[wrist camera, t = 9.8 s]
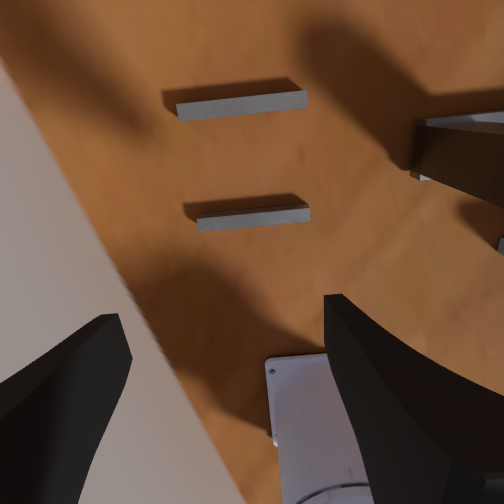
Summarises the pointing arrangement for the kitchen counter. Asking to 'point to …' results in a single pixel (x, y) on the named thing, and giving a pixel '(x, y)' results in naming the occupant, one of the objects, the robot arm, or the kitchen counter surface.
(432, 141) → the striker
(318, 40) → the kitchen counter surface
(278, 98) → the rail
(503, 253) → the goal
